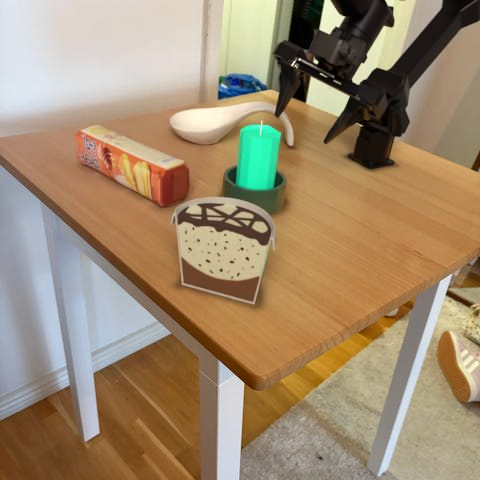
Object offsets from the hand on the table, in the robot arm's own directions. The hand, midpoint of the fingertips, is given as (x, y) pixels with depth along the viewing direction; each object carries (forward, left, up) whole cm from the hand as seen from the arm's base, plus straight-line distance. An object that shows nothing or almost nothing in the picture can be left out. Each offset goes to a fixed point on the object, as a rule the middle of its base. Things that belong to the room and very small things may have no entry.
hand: (299, 129), depth 82 cm
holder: (+9, +2, -10) cm, 13 cm away
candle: (+9, +2, -9) cm, 13 cm away
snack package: (+24, -11, -10) cm, 28 cm away
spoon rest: (-1, -21, -10) cm, 23 cm away
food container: (+24, +19, -10) cm, 32 cm away
